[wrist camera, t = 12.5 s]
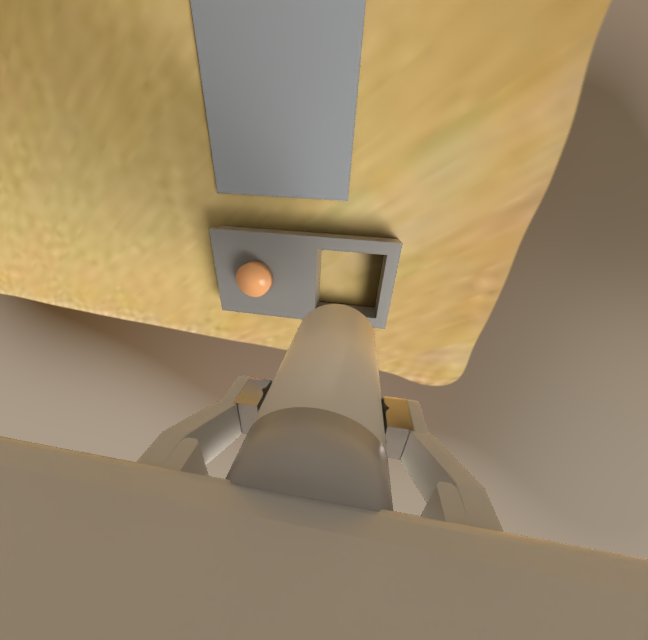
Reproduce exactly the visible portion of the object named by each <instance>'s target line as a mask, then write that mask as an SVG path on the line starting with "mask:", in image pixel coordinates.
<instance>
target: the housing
mask: <svg viewBox="0 0 648 640" xmlns="http://www.w3.org/2000/svg"><path fill="white" fill-rule="evenodd" d="M209 233H210V239H211V245H212V251H213V257H214V263H215V269H216V275H217V281H218V287H219V293H220V299H221V305H222V310H226V311H235V312H244V313H252V314H261V315H269V316H278V317H286V318H295V319H304V318H305V316H306V315H307V314H308V313H309V312H311V311H312V310H314V309H315V308H317V307H320V306H323V305H327V304H336V303H327V302H319V291H320V269H321V250H332V251H344V252H356V253H368V254H380V255H384V257H383V263H382V269H381V275H380V280H379V286H378V292H377V298H376V304H375V308H374V307H364V306H355V305H346V304H341V305H346V306H350V307H352V308H354V309H356V310H358V311H359V312H361V313H362V314H363V315H364V316H365V317H366V318H367V319H368V320H369V322H370V323H371V325H372V327H373V328H381V329H385V327H386V322H387V317H388V312H389V307H390V302H391V298H392V293H393V288H394V283H395V278H396V273H397V268H398V263H399V258H400V253H401V248H402V242H401V241H400V240H399V239H394V238H381V237H368V236H354V235H341V234H328V233H315V232H301V231H288V230H275V229H262V228H248V227H235V226H219V227H213V228H209ZM251 261H259V262H262V263H264V264H265V265H267V266H268V267H269V269H270V270H271V272H272V275H273V284H272V287H271V288H270V289H269V290H268V291H267V292H266V293H265V294H264V295H262V296H260V297H251V296H248V295H246V294H245V293H243V292H242V291H241V290H240V288H239V287H238V285H237V282H236V273H237V271H238V269H239V268H240V267H241V266H243V265H245V264H246V263H248V262H251Z"/></svg>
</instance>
